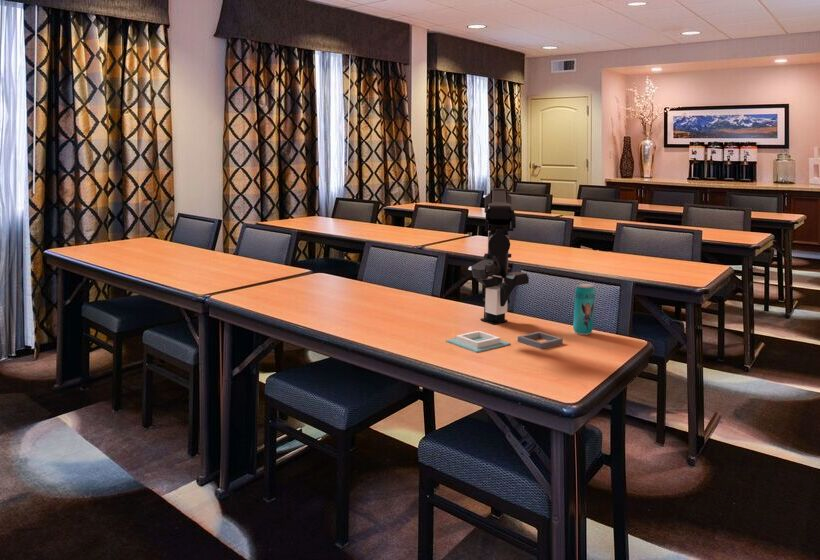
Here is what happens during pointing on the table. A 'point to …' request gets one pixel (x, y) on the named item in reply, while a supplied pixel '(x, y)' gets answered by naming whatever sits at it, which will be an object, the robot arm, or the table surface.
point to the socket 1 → (478, 341)
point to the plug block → (494, 301)
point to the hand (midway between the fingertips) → (496, 304)
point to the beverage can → (584, 308)
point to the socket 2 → (551, 342)
